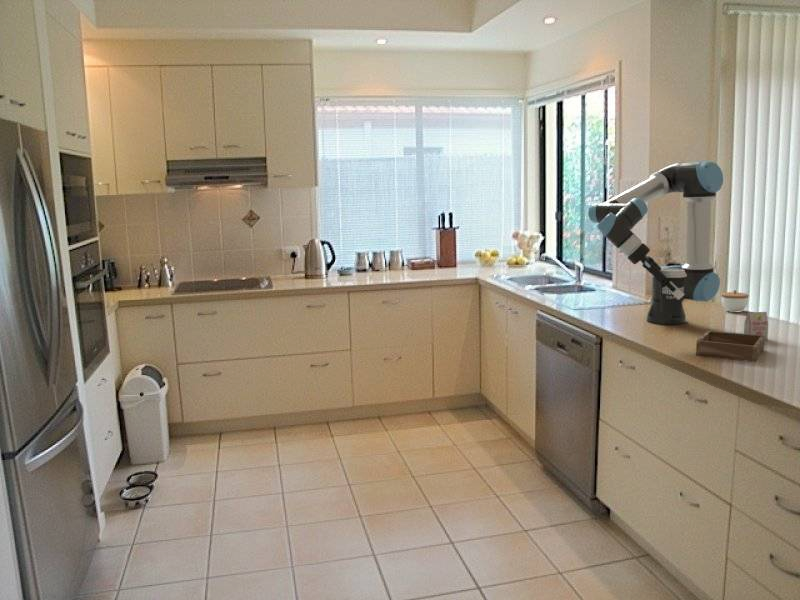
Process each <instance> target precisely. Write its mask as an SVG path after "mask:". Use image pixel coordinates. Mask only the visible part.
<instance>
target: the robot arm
mask: <svg viewBox="0 0 800 600" xmlns="http://www.w3.org/2000/svg"><path fill="white" fill-rule="evenodd" d="M723 184H724V174H723V171H722V169H721V167H720V166H719V165H718V164H717V163H716V162H715V161H705V160H701V161H690V162H689V161H686V162H685V161H682V162H681V161H680V162H676V163H672V164H669V165H667V166H665V167H664V168H661V169H658V170H657V171H655V172H654V173H653V172H652V174H650V176H649V177H648V179H646V180H643V181H642V182H639V184H636V185H634V186H633V187H631V188H629V189H626V190H625V191H623V192H622V193H620V194H618V195H615V196H614V197H612V198H610V199H608V200H606V201H604V202H597V203H593V204H591V205H590V207H589V208H588V213H587V215H588V219H589V220H590V221H591V222H592V223H595V224H597V226H596V227H597V230H599V232H600V233H601V234H602V235H603V237H605V238H606V239H607V240H608V241H609V242H610V243H612V245H613V246H615V247H616V249H618V252H619V254H621V253H622V254H623V255H624V256H625V257H627V259H628V260H629V262H631V263H632V264H633V265H636V264H638V263H640V262H641V263H642V265H641V266H642V267H643V268H644V269H645V270H646V271H647V272H649V273H650V274H651V275H652V277H651V278H652V284H651V285H652V286H651V287H652V288H651V289H652V290H651V291H652V292H651V304H650V307H649V310H648V312H647V314H646V321H647V322H649V323H653V324H659V325H682V324H685V323H686V321H687V316H686V313H685V309H684V306H683V304H682V306H681V313H676V314H669V313H663V312H661V301H660V284H659V282H660V283H661V284H662V287H663V288H664V287H666V288H667V289H668V290H669V291H670V292H671V293H672V294H673V295H674V296H675V297H676V298H677V299H678V300H679V299H680V298H682V297H683V299H682V300H690V301H695V302H709V301H711V300H712V299H714V298H715V296H716V295H717V294H718V292H719V289H720V285H721V279H720V277H719V274H718V273H716V272H714V266H713V264H711V262H710V256H711V255H710V251H711V250H710V249H711V226H712V225H711V217H712V215H711V214H712V201H713V200H714V199H715V198H716V196H717V193H718V192H719V191H720V190H721V189H722V186H723ZM671 193H682V198H683V199H684V200H685V202H686V205H687V206H686V236H685V237H686V239H685V240H686V242H685V249H686V250H685V263H684V264H683V265H666V266H665V265H664V266H660V265H659V264H658V263H657V262H656V261H655V259H654V257H651V256H649V255H648V254H649V252H651V249H650V247H648V246H647V244H645V243H643V242H642V240H641V239H640V237H638V236H637V234H635V233H634V232H633V231H632V229H633V228H634V227H635V226H636V225H637V224H638V223H640V221H642V220H643V218H645V216H646V215H647V214H648V211H649V208H648V205H647V203H646V202H648V201H651V200H652V199H654V198H657V196H658V197H662V196H665V195H667V194H671ZM667 268H675V269H684V270H685V273H686V274H687V277H685V284H684V291H683V292H682V291H681V290H680V289H679V288H678V287H676V286H675V285H674V284H673V283H672V282H671V281H670V280H668V278H667V277H666V276H665V275H664V274H663V273H662V272H661V271H660V270H661V269H667Z"/></svg>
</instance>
